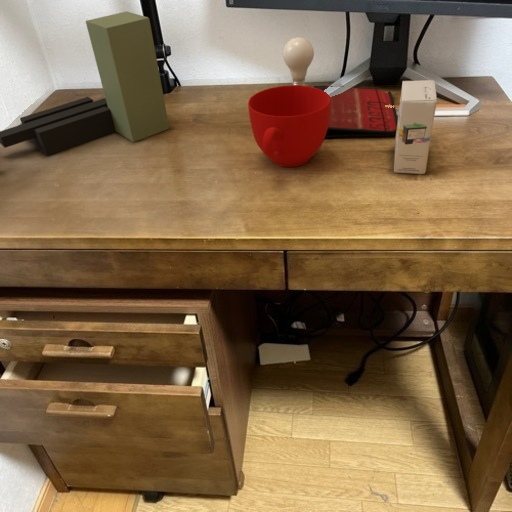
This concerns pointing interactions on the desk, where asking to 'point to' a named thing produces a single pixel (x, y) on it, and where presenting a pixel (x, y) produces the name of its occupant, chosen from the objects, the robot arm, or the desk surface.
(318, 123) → the ceramic cup
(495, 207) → the desk surface
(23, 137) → the pad strip
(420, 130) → the ink box
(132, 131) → the stand
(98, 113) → the dock pad
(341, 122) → the binder
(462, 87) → the desk surface
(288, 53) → the lightbulb
